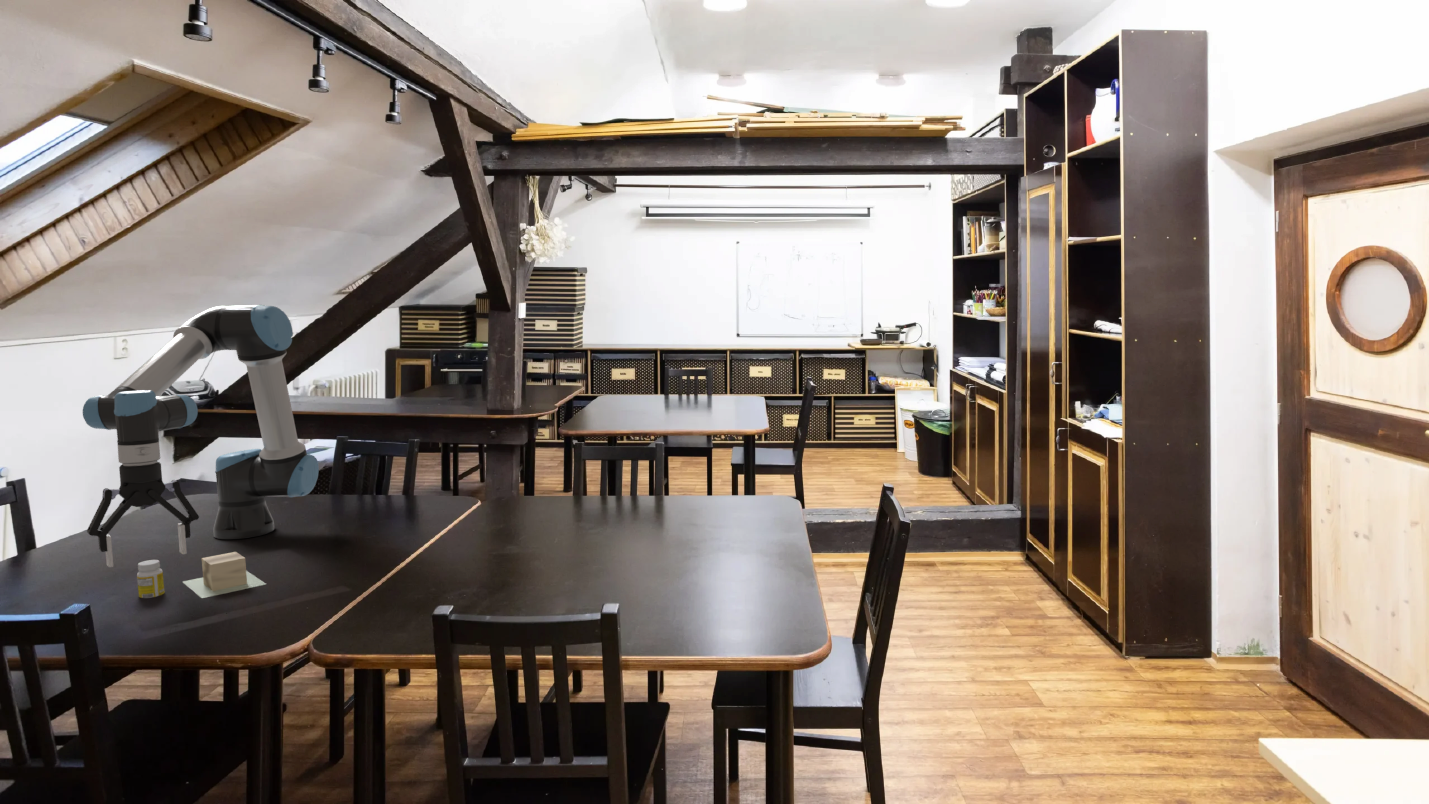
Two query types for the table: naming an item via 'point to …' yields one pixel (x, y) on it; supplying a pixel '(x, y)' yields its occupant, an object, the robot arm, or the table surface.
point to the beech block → (224, 571)
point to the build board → (204, 591)
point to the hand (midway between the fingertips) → (147, 559)
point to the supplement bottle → (150, 579)
